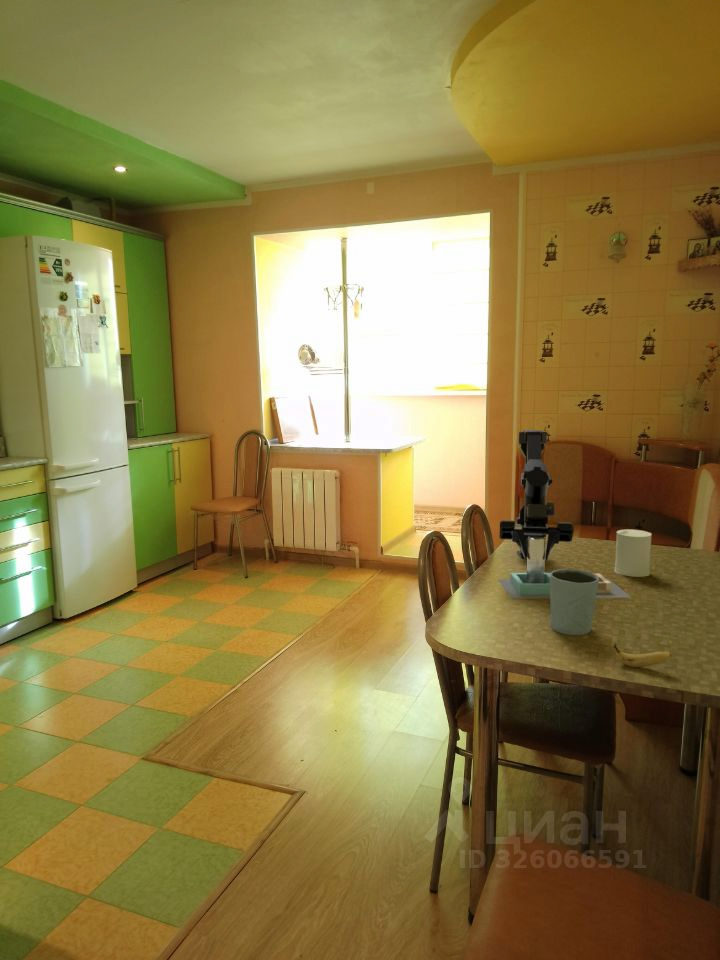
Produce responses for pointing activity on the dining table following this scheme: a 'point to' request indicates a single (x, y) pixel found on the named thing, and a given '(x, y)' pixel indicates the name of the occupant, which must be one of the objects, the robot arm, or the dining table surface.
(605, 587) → the socket block
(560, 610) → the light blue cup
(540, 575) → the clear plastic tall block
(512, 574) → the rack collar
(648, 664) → the banana
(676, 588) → the dining table surface
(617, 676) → the dining table surface
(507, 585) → the mat
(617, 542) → the can
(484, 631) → the dining table surface
